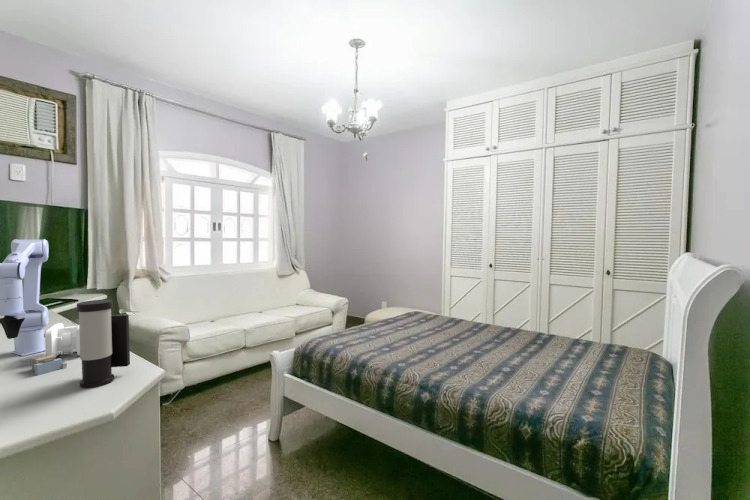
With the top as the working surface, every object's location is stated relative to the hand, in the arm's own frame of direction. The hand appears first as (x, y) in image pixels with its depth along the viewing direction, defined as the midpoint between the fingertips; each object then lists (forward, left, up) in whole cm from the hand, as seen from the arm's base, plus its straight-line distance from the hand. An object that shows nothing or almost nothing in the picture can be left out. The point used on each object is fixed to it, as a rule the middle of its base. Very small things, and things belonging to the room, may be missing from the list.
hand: (12, 337), depth 117 cm
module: (+10, +4, -11) cm, 15 cm away
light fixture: (+39, +6, -11) cm, 41 cm away
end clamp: (+15, +4, -10) cm, 18 cm away
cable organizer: (0, +15, -11) cm, 19 cm away
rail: (+7, +7, -10) cm, 14 cm away
